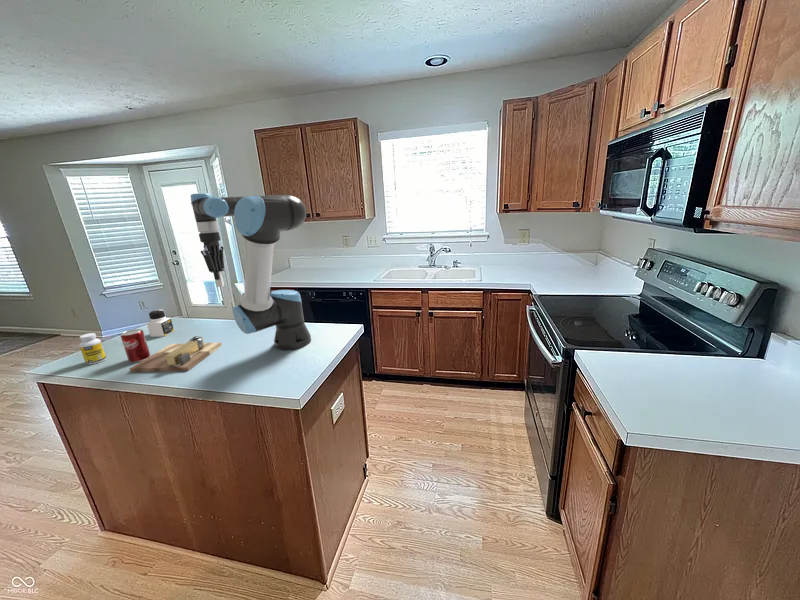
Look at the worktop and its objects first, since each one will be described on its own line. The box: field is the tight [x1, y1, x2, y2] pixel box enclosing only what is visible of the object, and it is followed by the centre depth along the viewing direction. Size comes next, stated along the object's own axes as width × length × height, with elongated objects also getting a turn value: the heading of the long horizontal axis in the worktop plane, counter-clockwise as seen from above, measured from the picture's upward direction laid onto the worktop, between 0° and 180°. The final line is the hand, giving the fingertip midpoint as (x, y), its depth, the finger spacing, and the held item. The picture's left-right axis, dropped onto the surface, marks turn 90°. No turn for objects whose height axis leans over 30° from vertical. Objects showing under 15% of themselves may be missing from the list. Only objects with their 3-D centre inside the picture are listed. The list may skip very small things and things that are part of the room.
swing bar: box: [166, 336, 205, 365], centre depth 132 cm, size 17×4×5 cm, turn 176°
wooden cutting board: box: [129, 342, 223, 373], centre depth 135 cm, size 23×22×4 cm
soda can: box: [120, 328, 151, 364], centre depth 135 cm, size 7×7×12 cm
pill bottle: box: [79, 332, 107, 365], centre depth 135 cm, size 6×6×12 cm
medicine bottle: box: [146, 309, 175, 338], centre depth 161 cm, size 7×7×12 cm
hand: (220, 286), depth 146 cm, fingers closed
